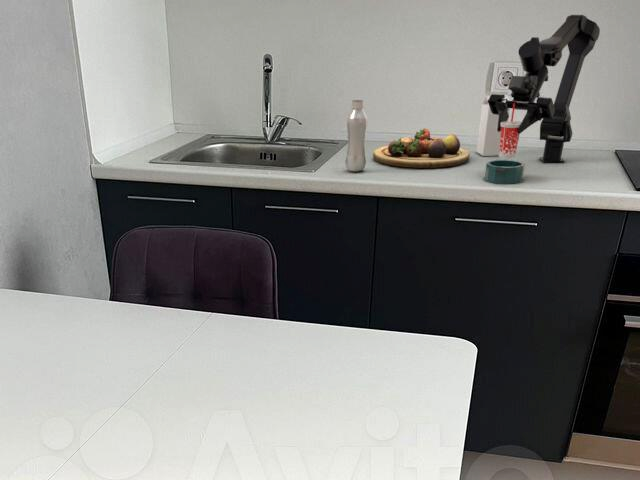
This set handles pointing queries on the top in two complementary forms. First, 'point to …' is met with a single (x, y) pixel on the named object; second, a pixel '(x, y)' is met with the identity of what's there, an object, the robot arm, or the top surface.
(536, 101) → the robot arm
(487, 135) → the milk carton
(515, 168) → the pot
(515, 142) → the beverage cup
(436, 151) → the wooden plate
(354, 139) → the plastic bottle
